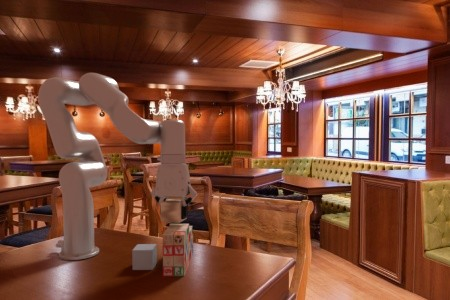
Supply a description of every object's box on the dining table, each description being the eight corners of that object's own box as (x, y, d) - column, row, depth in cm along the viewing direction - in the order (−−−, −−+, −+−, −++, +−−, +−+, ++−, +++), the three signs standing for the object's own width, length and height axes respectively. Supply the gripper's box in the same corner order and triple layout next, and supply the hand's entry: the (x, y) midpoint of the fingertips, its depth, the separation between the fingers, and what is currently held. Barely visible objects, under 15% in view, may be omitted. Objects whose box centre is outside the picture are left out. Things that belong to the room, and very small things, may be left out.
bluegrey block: (132, 270, 103) (132, 250, 103) (137, 262, 109) (137, 244, 109) (152, 270, 103) (152, 250, 103) (156, 262, 109) (156, 244, 109)
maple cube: (160, 221, 105) (160, 202, 105) (169, 217, 111) (169, 198, 111) (179, 222, 103) (178, 203, 103) (186, 218, 109) (186, 199, 109)
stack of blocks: (175, 252, 119) (174, 216, 119) (193, 252, 119) (193, 216, 119) (162, 277, 98) (162, 233, 97) (184, 277, 98) (184, 233, 97)
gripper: (142, 160, 105) (143, 219, 106) (195, 160, 101) (195, 222, 101) (153, 159, 113) (154, 214, 113) (203, 159, 108) (204, 216, 108)
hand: (174, 217), depth 107 cm, fingers closed on maple cube, 6 cm apart
